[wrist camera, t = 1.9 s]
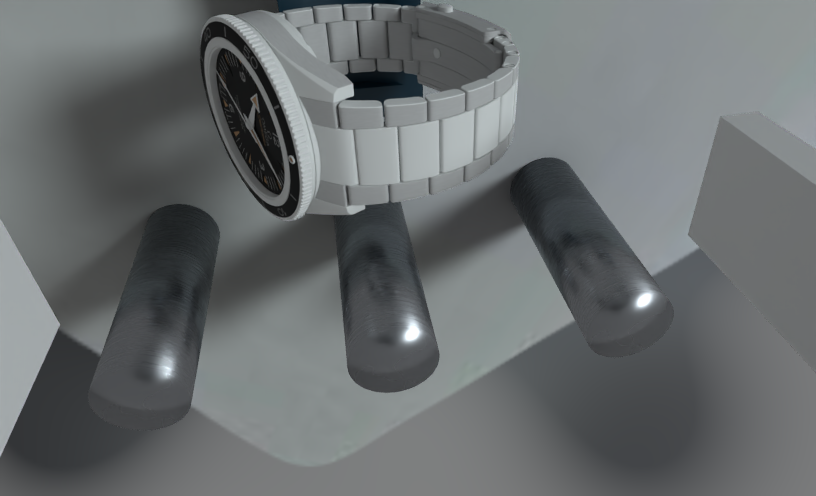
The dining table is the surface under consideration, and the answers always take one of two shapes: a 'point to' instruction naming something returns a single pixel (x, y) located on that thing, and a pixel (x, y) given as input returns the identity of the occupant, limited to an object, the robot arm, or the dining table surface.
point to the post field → (365, 296)
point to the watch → (358, 100)
